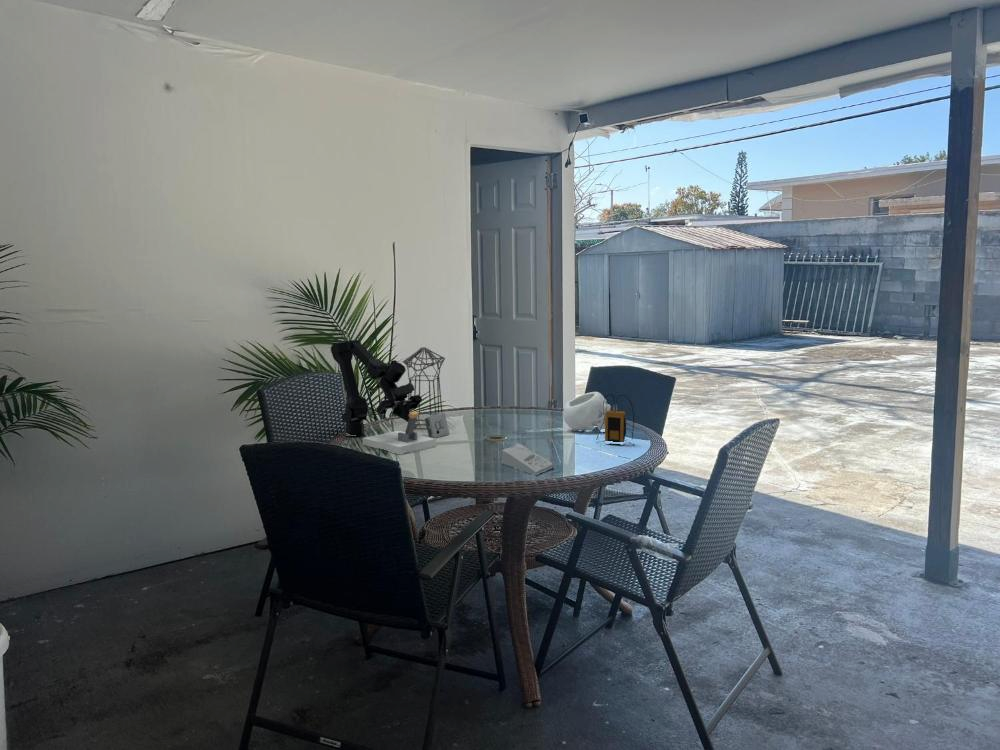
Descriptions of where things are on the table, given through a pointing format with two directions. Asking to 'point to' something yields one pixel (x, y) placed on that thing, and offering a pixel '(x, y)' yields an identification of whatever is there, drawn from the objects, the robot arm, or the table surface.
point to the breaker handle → (411, 423)
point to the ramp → (525, 459)
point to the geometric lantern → (426, 376)
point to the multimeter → (615, 424)
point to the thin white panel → (399, 442)
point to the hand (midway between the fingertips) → (410, 421)
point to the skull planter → (586, 411)
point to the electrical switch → (437, 425)
